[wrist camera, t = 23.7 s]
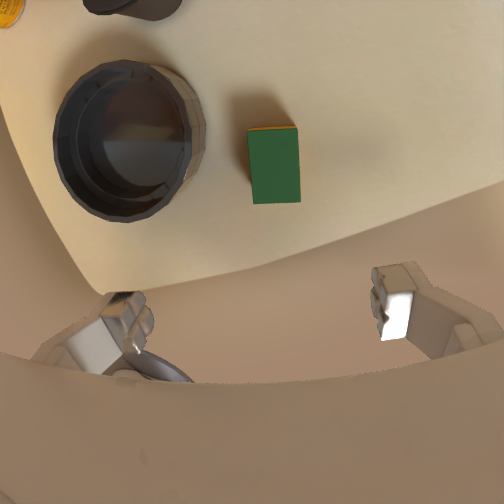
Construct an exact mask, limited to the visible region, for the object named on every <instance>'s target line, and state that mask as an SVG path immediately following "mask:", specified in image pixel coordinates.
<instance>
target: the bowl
mask: <svg viewBox="0 0 504 504" xmlns="http://www.w3.org/2000/svg"><path fill="white" fill-rule="evenodd" d="M205 136H206V123H205V119H204V116H203V112H202V109H201V105H200V102H199V99H198V98H197V97H196V95H195V94H194V92H193V91H192V90H191V88H190V87H189V85H188V84H187V83H186V81H185V80H183V79H182V78H180V77H179V76H178V75H176V74H175V73H173V72H172V71H170V70H169V69H167V68H163V67H159V66H155V65H150V64H145V63H140V62H135V61H130V60H119V61H113V62H108V63H104V64H101V65H99V66H97V67H95V68H94V69H92V70H91V71H89V72H87V73H86V74H84V75H82V76H81V77H80V78H79V79H78V80H77V82H76V83H75V84H74V85H73V86H72V87H71V88H70V90H69V91H68V92H67V93H66V95H65V97H64V99H63V101H62V104H61V106H60V108H59V110H58V113H57V115H56V120H55V125H54V131H53V150H54V160H55V164H56V167H57V170H58V173H59V176H60V179H61V181H62V183H63V184H64V186H65V187H66V189H67V190H68V192H69V193H70V195H71V196H72V198H73V199H74V200H75V201H76V202H77V203H78V204H79V205H80V206H82V207H83V208H84V209H85V210H86V211H88V212H89V213H90V214H93V215H95V216H97V217H100V218H102V219H104V220H106V221H109V222H121V223H131V222H135V221H138V220H142V219H145V218H149V217H151V216H152V215H154V214H155V213H156V212H158V211H159V210H161V209H162V208H163V207H165V206H166V205H168V204H169V203H170V202H171V201H172V200H173V199H174V198H175V197H176V196H177V195H178V194H179V193H181V192H182V191H183V190H184V189H185V187H186V186H187V185H188V183H189V182H190V180H191V179H192V178H193V176H194V175H195V174H196V173H197V171H198V168H199V165H200V162H201V159H202V156H203V153H204V150H205Z"/></svg>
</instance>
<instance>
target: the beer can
mask: <svg viewBox="0 0 504 504" xmlns="http://www.w3.org/2000/svg"><path fill="white" fill-rule="evenodd" d="M24 4H25V1H24V0H0V28H8V27H9V26H10V25H12V24H14V23H15V22H16V21H17V19H18V18H19V17H20V15H21V13H22V11H23V8H24Z"/></svg>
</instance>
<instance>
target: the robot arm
mask: <svg viewBox="0 0 504 504" xmlns="http://www.w3.org/2000/svg"><path fill="white" fill-rule="evenodd" d="M371 279H372V282H373V284H374V287H373V288H372V289H371V308H372V312H373V315H374V317H375V318H376V319H378V322H377V328H378V330H379V334H380V337H381V340H387V339H394V338H401V337H406V338H407V339H408V340H409V341H410V342H412V343H413V344H414V345H415V346H416V347H417V348H419V349H420V350H421V351H422V352H423V353H425V354H426V355H427V356H428V357H429V358H430V359H431V360H429V361H426V362H421V363H416V364H412V365H408V366H402V367H397V368H393V369H387V370H382V371H376V372H370V373H364V374H357V375H350V376H343V377H335V378H326V379H316V380H305V381H291V382H276V383H275V382H274V383H246V384H210V383H182V382H168V381H164V380H160V379H155V378H152V377H150V376H148V375H145V374H143V373H140V372H137V371H133V370H127V369H121V370H117V371H115V372H114V373H113V375H112V376H108V375H101V374H102V373H103V372H104V371H105V370H106V369H107V368H108V367H109V366H110V365H112V364H113V363H114V362H115V361H116V360H117V359H118V358H119V357H120V356H121V355H122V353H128V354H141V352H142V350H143V348H144V346H145V344H146V342H147V341H146V338H145V337H147V336H148V335H149V334H150V333H151V332H152V330H153V328H154V317H153V314H152V312H151V310H150V308H148V307H147V306H146V305H145V303H146V298H145V296H144V294H143V293H142V292H140V291H120V292H108V293H106V294H105V295H104V297H103V298H102V299H101V300H100V302H99V303H98V304H97V305H96V307H95V308H94V309H93V311H92V312H91V313H90V315H89V316H87V317H84V318H82V319H80V320H79V321H77V322H76V323H74V324H72V325H71V326H69V327H68V328H66V329H64V330H63V331H61V332H60V333H58V334H56V335H55V336H53V337H52V338H50V339H49V340H47V341H45V342H44V343H43V344H42V345H41V346H40V348H39V349H38V350H37V352H36V353H35V355H34V356H33V357H32V358H31V360H27V359H23V358H20V357H16V356H12V355H9V354H6V353H2V352H0V504H504V331H503V329H502V328H501V326H500V324H499V323H498V321H497V320H496V318H495V317H494V316H493V314H491V313H489V312H487V311H485V310H483V309H481V308H479V307H477V306H475V305H473V304H471V303H469V302H467V301H465V300H463V299H461V298H459V297H457V296H455V295H453V294H451V293H449V292H447V291H445V290H443V289H441V288H439V287H433V286H432V284H431V283H430V281H429V280H428V278H427V277H426V275H425V274H424V272H423V271H422V270H421V268H420V267H419V265H418V264H417V263H416V262H415V261H410V262H404V263H400V264H394V265H387V266H381V267H375V268H372V276H371Z"/></svg>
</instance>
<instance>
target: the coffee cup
mask: <svg viewBox="0 0 504 504" xmlns="http://www.w3.org/2000/svg"><path fill="white" fill-rule="evenodd" d="M181 2H182V0H83V4H84V6H85V7H86V8H87V10H88V11H89V12H91V13H94V14H96V15H111V14H114V13H115V14H120V15H126V16H131V17H135V18H140V19H144V20H149V21H157V20H162V19H164V18H166V17H169V16H170V15H171V14H173V13H174V12H175V11H176V10H177V9H178V7H179V6H180V4H181Z"/></svg>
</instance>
